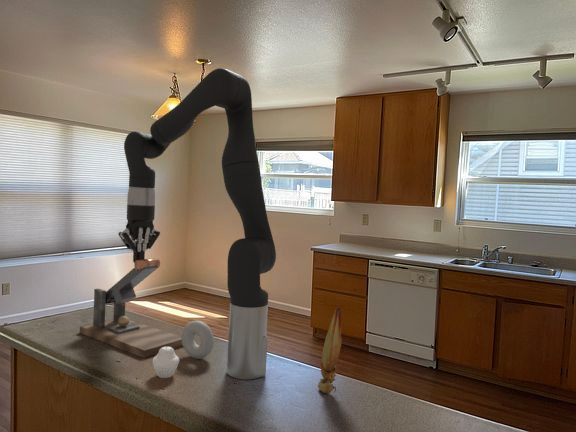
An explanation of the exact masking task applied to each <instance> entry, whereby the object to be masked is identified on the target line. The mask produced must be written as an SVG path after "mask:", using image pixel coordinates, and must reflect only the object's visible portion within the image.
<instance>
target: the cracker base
mask: <svg viewBox="0 0 576 432" xmlns="http://www.w3.org/2000/svg"><path fill="white" fill-rule="evenodd" d="M93 292H94V294H93V315H92V316H93V318H92V319H93V322H92V323H88V324H84V325H80V326H79V334H82V335H85V336H87V337H89V338H92V339H94V340H97V341H99V340H100V342H103V343H104V342H105V344H108V345H110V346H113V347H115V348H117V349H120V350H123V351H126V352H128V353H130V354H133V355H135V356H138V357H140V358H143V359H145V358H148V357H151V356H152V357H153V356H156V355H157V354H158V353H159V350H160V349H161V348H162V347H166V346H167V347H172V348H173V349H174V350H175V349H178V348H181V347H183V344H182V338H181V337H182V335H181V336H180V335H177V334H174V333H171V332H168V331H165V330H162V329H159V328H156V327H153V326H149V325H147V324H143V323H141V322H138V321H137V322H136V321H134V320H131V319H130V318H129V317H128V316H126V302H124V303H119V304H116V302H115V303H113V318H111V319H106V305H107V304H106V292H107V290H104V289H102V288H94V290H93Z"/></svg>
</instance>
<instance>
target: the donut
mask: <svg viewBox="0 0 576 432" xmlns="http://www.w3.org/2000/svg"><path fill="white" fill-rule="evenodd" d="M195 334H196V335H198V336H199V338H200V345H199V344H197V342H196V340H195ZM214 337H215V336H214V333H213V331H212V329H211V327H210V326H209V325H208V324H207V323H206V322H204V321H201V320H192V321H189V322H188V323H187V324H185V325H184V327H183V330H182V331H181V338H182V344H183V346H182V348H183V349H184V351H185V353H186V354H188V356H190V357H191V358H193V359H197V360H201V359H204V358H207V357H208V356H209V355H210V354H211V353H212V351H213V349H214V344H215V338H214Z"/></svg>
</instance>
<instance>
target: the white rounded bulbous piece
mask: <svg viewBox="0 0 576 432" xmlns="http://www.w3.org/2000/svg"><path fill="white" fill-rule="evenodd" d="M179 363H180V358H179V356H178V355H176V353H175V348H174V349H173V348H172V347H167V346H166V347H162V348H161V349H160V350H159V353H158V354H156V355H154V357H153V359H152V366H153V368H154V371H155V372H156V374H157V377H159V378H161V379H168V378H171V377H173V375H174V373H175V371H176V370H177V368H178V365H179Z"/></svg>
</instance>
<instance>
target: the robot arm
mask: <svg viewBox="0 0 576 432" xmlns="http://www.w3.org/2000/svg"><path fill="white" fill-rule="evenodd" d="M252 99H253V98H252V90H251V85H250V84H249V82H248V80H247V79H246V78H245V77H244V76H242V75H241V74H238V73H235V72H234V71H232V70H229V69H226V68H222V67H219V68H216V69H213V70H212V71H210V72H209V73H208V74H207V75H205V77H204V78H202V80H201V81H200V82H198V84H197V85H196V86H195V87H194V88H193V89H192V90H191V91H190V92H189V93H188V94H187V95H186V96H185V97H184V98H183V99H182V100H181V101H180V102H179V103H178V104H177V105H176V106H174V107H173V108H172V109H171V110H169V111H168V112H167V113H165V114H164V115H162V116H161V117H160V118H158V119H157V120H155V121H154V122H153V123H152V124H151V126H150V127H149V128H150V129H149V130H150V131H149V132H150V133H145V132H141V131H135V130H134V131H131V132H129V133H128V134H127V136H126V137H125V139H124V142H123V143H124V144H123V150H124V155H125V158H126V159H125V160H126V164H127V168H128V173H129V175H128V191H127V201H126V202H127V203H126V204H127V205H126V220H127V223H126V225H125V229H123V231H119V232H118V236H119V238H120V239H121V241H122V242H123V244H124V246H125V247H126V248H127V249H128V250H131V251H132V254H133V256H132V262H133V264H135V261H136V260H142V259H146V257H145V255H146V251H147V250H149V249H152V247H153V246H154V244H155V242H156V241H157V240H158V238H159V236H160V235H161V232H160V231H158V230H157V229H156V228H155V225H154V220H155V213H156V212H155V211H156V170H155V169H154V168H152V167H150V166H148V165H147V163H146V160H145V159H149V160H154V159H157V158H158V157H160V156H161V155H162V154H164V152H165V151H166V150H167V149H168V148H169V146H170V145H171V144H172V143H173V142H175V141H176V140H178V139H180V138H182V136H184V135H186V134H187V133H188V131H190V129H192V126H193V125H194V123H195V121H196V119H197V117H198V116H200V114H201V113H203V112H204V111H206V110H208V109H211V108H213V107H219V108H221V109H224V111H225V114H226V120H227V126H228V132H227V133H228V135H227V139H226V142H225V145H224V148H223V151H222V152H223V153H222V155H221V170H222V175H223V182H224V189H225V190H226V193H227V195H228V197H229V199H230V201H231V202H232V204H233V206H234V207H235V209H236V210H237V213H238V215H239V216H240V219H241V222H242V228H243V232H244V238H243V237H242V238H239V239H236V240H235V241H234V242H233V243H232V244H231V245H230V247H229V250H228V253H227V254H228V255H227V291H228V294H229V297H230V300H229V317H228V318H229V319H228V338H227V339H228V340H227V354H226V355H227V359H226V361H227V362H226V373H227V375H228V376H230V377H231V378H233V379H238V380H254V379H257V378H261V377H262V378H263V377H266V376H267V375H266V374H267V357H268V356H267V355H268V341H269V340H268V339H269V338H268V335H267V328H268V309H269V307H268V306H269V292H267V290H264V289H263V288H262V287H261V275H262V274H266V273H268V272H270V271H271V270H273V267H275V263H276V260H277V252H276V251H277V250H276V246H275V241H274V239H273V238H274V237H273V235H272V231H271V230H272V229H271V226H270V224H269V223H270V221H269V219H268V218H269V217H268V214H267V208H266V203H265V202H266V201H265V196H264V191H263V181H262V175H261V169H260V162H259V158H258V153H257V152H258V151H257V144H256V136H255V129H254V123H253V122H254V120H253V119H254V118H253V100H252Z"/></svg>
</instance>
